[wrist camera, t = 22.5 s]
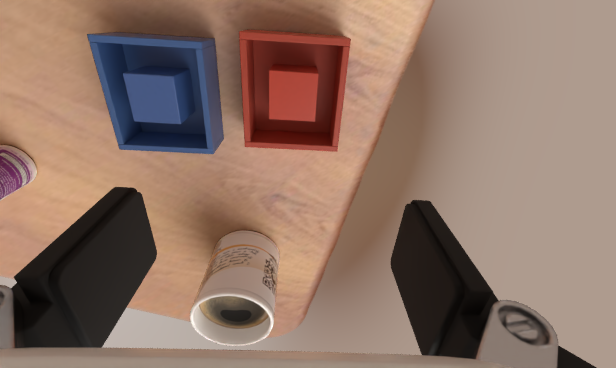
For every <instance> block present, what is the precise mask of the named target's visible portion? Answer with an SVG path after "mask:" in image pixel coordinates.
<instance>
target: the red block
mask: <svg viewBox="0 0 616 368" xmlns="http://www.w3.org/2000/svg"><path fill="white" fill-rule="evenodd" d="M318 76H319V73H318V70H317V67H316V66H304V65H289V64H273V65H272V67H271V68H270V70H269V119H278V120H295V121H312V122H315V114H316V101H317V89H318Z"/></svg>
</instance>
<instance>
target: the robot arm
mask: <svg viewBox="0 0 616 368" xmlns="http://www.w3.org/2000/svg"><path fill="white" fill-rule="evenodd" d="M156 255H157V250H156V246H155V242H154V239H153V235H152V231H151V227H150V223H149V220H148V216H147V212H146V208H145V204H144V201H143V197H142V194H141V193H140V192H137V190H136V189H135V188H127V187H115V188H113V189H112V190H111V191H110V192H108V193H107V194H106V195H105V196H104V197H103V198H102V199H101V200H99V201H98V202H97V203H96V204H95V205H94V206H93V207H92V208H90V209H89V210H88V211H87V212H86V213H85V214H84V215H83V216H82V217H80V218H79V219H78V220H77V221H76V222H75V223H74V224H73V225H71V226H70V227H69V228H68V229H67V230H66V231H65V232H64V233H62V234H61V235H60V236H59V237H58V238H57V239H56V240H55V241H54V242H52V243H51V244H50V245H49V246H48V247H47V248H46V249H45V250H43V251H42V252H41V253H40V254H39V255H38V256H37V257H36V258H34V259H33V260H32V261H31V262H30V263H29V264H28V265H27V266H26V267H24V268H23V269H22V270H21V271H20V272H19V273H18V274H17V275H15V276H14V278H15V280H16V281H17V283H16V284H15V285H14V286H13V287H12V288H9V287H7V286H5V285H0V368H596V367H594V366H592V365H591V364H589V363H587V362H586V361H584V360H582V359H581V358H579V357H577V356H575V355H574V354H572V353H570V352H569V351H567V350H565V349H563V348H562V347H560V346H558V339H557V334H556V332H555V331H554V329H553V327H552V326H551V325H550V324H549V322H548V321H547V320H546V319H545V318H544V317H543V316H541V315H540V314H539V313H538V312H536V311H535V310H533V309H531V308H530V307H528V306H526V305H524V304H521V303H519V302H516V301H511V300H500V301H498V299H497V298H496V296H495V295H494V293H493V291H492V290H491V288H490V287H489V285H488V284H487V282H486V281H485V280H484V278H483V277H482V275H481V274H480V272H479V271H478V269H477V268H476V267H475V265H474V264H473V262H472V261H471V259H470V258H469V257H468V255H467V254H466V252H465V251H464V249H463V248H462V246H461V245H460V244H459V242H458V241H457V239H456V238H455V236H454V235H453V233H452V232H451V231H450V229H449V228H448V226H447V225H446V223H445V222H444V220H443V219H442V218H441V216H440V215H439V213H438V212H437V210H436V209H435V207H434V206H433V205H432V204H431V202H430V201H422V200H413V201H412V202H411V204H407V205H406V206H405V210H404V213H403V217H402V221H401V224H400V228H399V232H398V236H397V239H396V243H395V246H394V250H393V253H392V257H391V269H392V272H393V274H394V277H395V280H396V283H397V286H398V289H399V292H400V294H401V297H402V300H403V303H404V306H405V309H406V311H407V314H408V317H409V320H410V323H411V326H412V328H413V331H414V334H415V337H416V340H417V343H418V346H419V348H420V351H421V354H422V355H403V354H402V355H401V354H376V353H339V352H301V351H256V350H255V351H254V350H209V349H207V350H206V349H153V348H150V349H149V348H101V347H102V346H103V345H104V343H105V341H106V340H107V338H108V336H109V335H110V333H111V331H112V330H113V328H114V326H115V325H116V323H117V321H118V320H119V318H120V317H121V315H122V314H123V312H124V310H125V309H126V307H127V305H128V304H129V302H130V301H131V299H132V297H133V296H134V294H135V292H136V291H137V289H138V287H139V286H140V284H141V283H142V281H143V279H144V278H145V276H146V274H147V273H148V271H149V270H150V268H151V266H152V265H153V263H154V261H155V259H156Z"/></svg>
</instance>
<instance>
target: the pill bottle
mask: <svg viewBox="0 0 616 368" xmlns="http://www.w3.org/2000/svg"><path fill="white" fill-rule="evenodd" d="M36 175H37V169H36V166H35V164H34V162H33V160H32V159H31V158H30V157H29V156H28V155H27V154H26V153H24V152H23V151H21V150H19V149H17V148H15V147H12V146H7V145H0V200H2V199H4V198H5V197H7V196H8V195H10V194H12V193H13V192H15V191H17V190H18V189H20V188H22V187H23V186H25V185H27V184H28V183H30V182H32V181H33V180H34V179H35V178H36Z"/></svg>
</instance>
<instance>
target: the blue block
mask: <svg viewBox="0 0 616 368" xmlns="http://www.w3.org/2000/svg"><path fill="white" fill-rule="evenodd" d="M123 77H124V81H125V85H126V89H127V93H128V97H129V102H130V106H131V110H132V114H133V118H134V121H135V122H153V123H170V124H181V123H182V122H184V121H185V120H186V119H187V118H188V117H189V116H191V115H192V114H193V113H194V112H195V104H194V97H193V89H192V81H191V74H190V69H186V68H170V67H155V66H145V67H141V68H138V69H135V70H131V71H128V72H125V73H123Z"/></svg>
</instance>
